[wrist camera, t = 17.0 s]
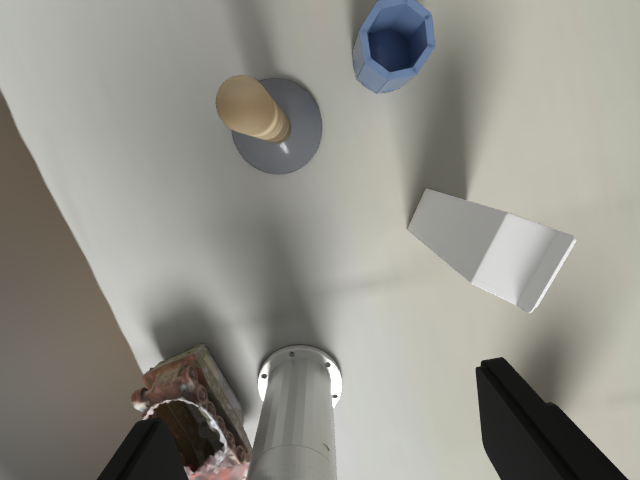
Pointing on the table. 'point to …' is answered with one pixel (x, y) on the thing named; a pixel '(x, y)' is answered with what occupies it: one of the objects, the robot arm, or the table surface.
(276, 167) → the coaster
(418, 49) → the cup
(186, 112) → the table surface
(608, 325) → the table surface
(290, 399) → the robot arm
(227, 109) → the wooden pestle
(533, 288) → the milk
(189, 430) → the decorative box
